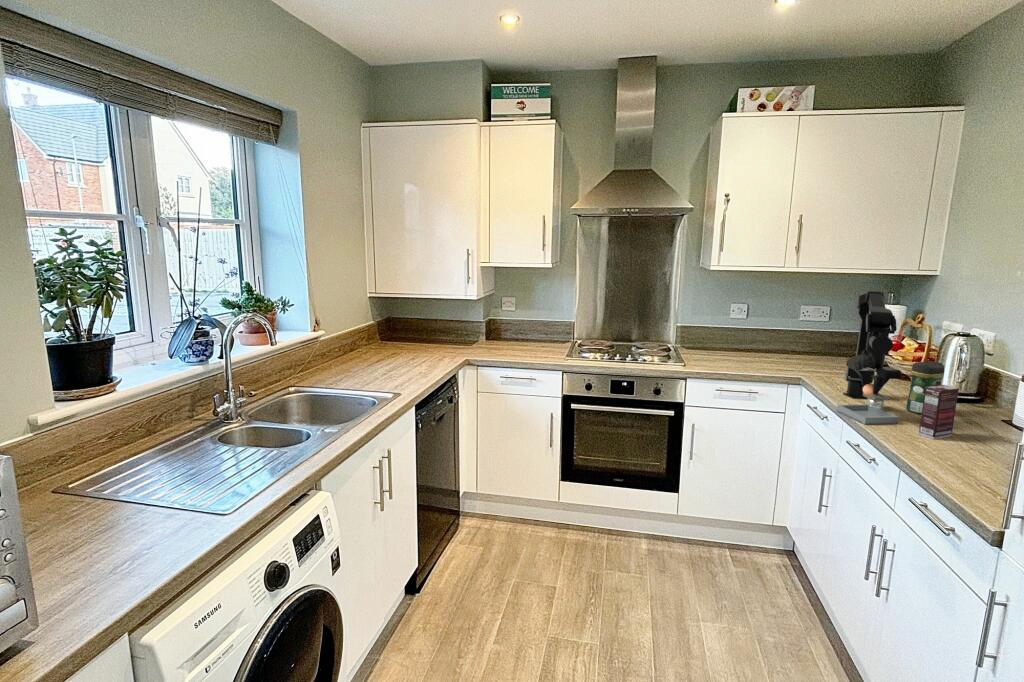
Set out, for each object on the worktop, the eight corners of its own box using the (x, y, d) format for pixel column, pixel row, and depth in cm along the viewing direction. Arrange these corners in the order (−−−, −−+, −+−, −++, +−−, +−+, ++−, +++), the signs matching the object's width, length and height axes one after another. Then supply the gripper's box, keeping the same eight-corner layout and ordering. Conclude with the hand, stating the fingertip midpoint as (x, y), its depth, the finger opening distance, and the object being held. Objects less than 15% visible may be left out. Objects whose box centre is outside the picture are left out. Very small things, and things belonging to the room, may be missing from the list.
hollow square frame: (861, 405, 202) (863, 393, 201) (876, 405, 202) (877, 392, 201) (873, 410, 196) (874, 397, 195) (888, 410, 196) (890, 397, 196)
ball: (858, 394, 189) (860, 382, 188) (870, 394, 189) (872, 382, 189) (868, 398, 185) (869, 385, 184) (880, 398, 185) (881, 385, 184)
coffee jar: (919, 407, 201) (927, 358, 197) (942, 414, 193) (950, 363, 190) (900, 409, 198) (908, 360, 194) (923, 416, 190) (931, 365, 187)
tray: (836, 411, 195) (837, 405, 194) (867, 411, 196) (868, 404, 195) (864, 424, 181) (865, 417, 180) (898, 424, 182) (899, 417, 182)
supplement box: (935, 431, 175) (943, 384, 172) (952, 437, 171) (960, 388, 168) (917, 434, 172) (924, 386, 169) (933, 440, 168) (941, 390, 165)
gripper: (835, 342, 192) (829, 385, 195) (874, 354, 174) (867, 401, 177) (864, 342, 193) (858, 385, 196) (906, 353, 175) (899, 400, 178)
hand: (869, 392), depth 187 cm, fingers closed on ball, 4 cm apart
